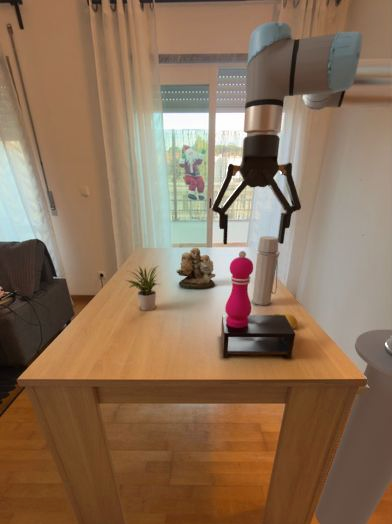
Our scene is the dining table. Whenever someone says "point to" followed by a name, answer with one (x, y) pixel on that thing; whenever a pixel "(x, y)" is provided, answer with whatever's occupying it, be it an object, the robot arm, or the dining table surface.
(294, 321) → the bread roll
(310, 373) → the dining table surface
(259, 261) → the water bottle
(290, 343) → the rack
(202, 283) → the owl figurine
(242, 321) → the pepper mill
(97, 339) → the dining table surface
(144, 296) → the house plant
